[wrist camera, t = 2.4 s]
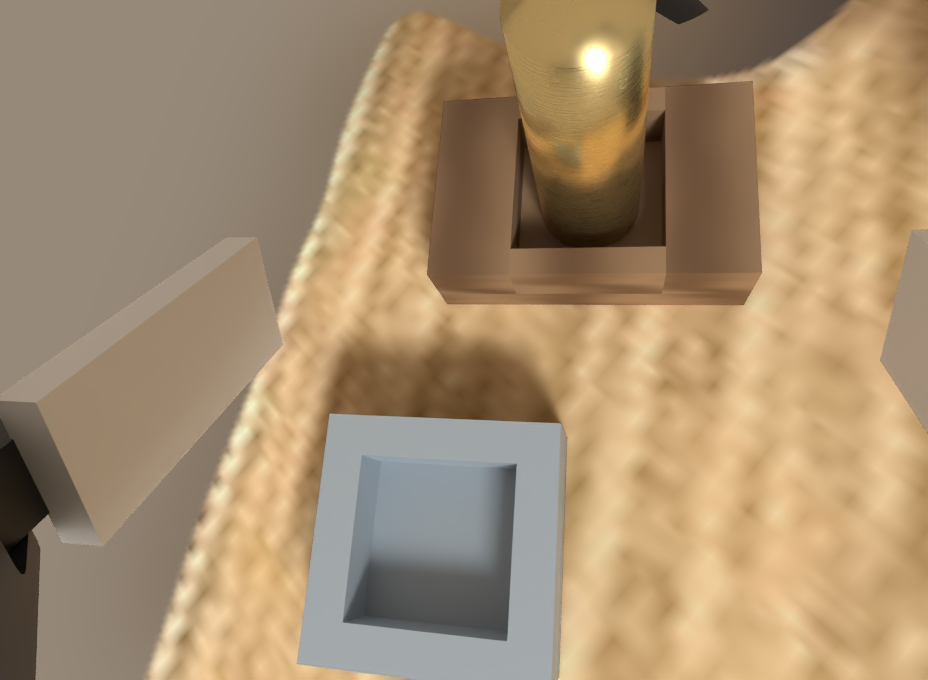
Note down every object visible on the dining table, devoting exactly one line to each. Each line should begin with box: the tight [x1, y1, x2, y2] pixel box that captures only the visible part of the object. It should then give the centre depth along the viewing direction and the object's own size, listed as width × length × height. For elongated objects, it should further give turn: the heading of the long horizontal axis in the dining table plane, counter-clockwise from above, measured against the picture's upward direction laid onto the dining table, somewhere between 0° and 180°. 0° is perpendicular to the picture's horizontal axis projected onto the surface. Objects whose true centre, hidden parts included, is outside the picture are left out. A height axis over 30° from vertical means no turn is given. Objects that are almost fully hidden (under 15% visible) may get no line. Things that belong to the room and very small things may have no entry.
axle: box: [500, 0, 656, 248], centre depth 26 cm, size 5×5×13 cm
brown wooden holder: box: [427, 81, 762, 305], centre depth 32 cm, size 14×9×4 cm, turn 86°
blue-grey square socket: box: [297, 414, 567, 680], centre depth 29 cm, size 10×10×4 cm
